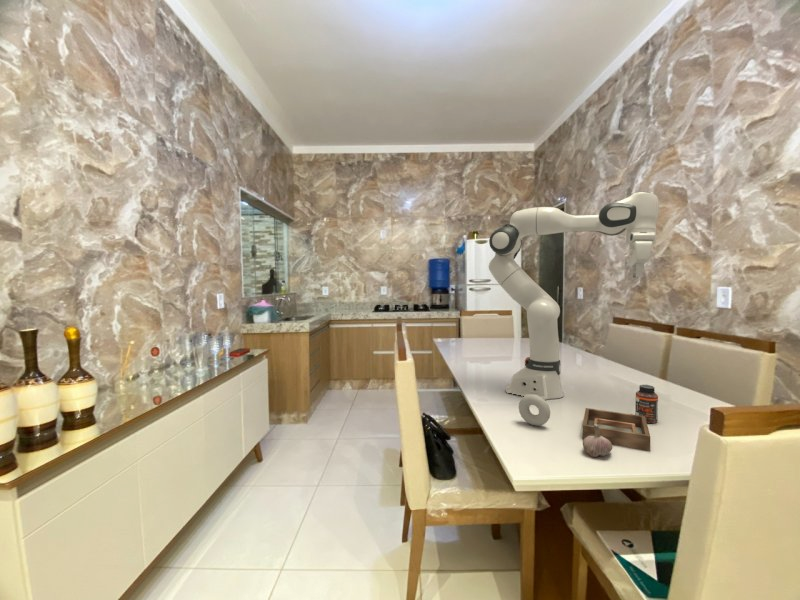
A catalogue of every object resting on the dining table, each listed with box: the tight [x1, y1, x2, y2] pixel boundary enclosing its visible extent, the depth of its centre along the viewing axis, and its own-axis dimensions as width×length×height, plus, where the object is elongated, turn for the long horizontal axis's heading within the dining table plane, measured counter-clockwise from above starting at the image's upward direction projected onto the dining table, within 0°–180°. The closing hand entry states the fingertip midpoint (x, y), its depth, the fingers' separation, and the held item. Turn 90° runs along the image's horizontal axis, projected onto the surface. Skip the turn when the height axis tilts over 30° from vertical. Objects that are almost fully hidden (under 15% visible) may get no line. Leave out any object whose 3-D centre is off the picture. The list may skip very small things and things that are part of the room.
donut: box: [518, 394, 551, 427], centre depth 111 cm, size 10×4×10 cm, turn 48°
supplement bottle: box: [634, 384, 659, 425], centre depth 112 cm, size 6×6×11 cm
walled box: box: [582, 407, 651, 452], centre depth 103 cm, size 16×16×4 cm
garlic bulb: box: [582, 424, 613, 458], centre depth 92 cm, size 8×7×8 cm
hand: (636, 277), depth 124 cm, fingers open, 8 cm apart
